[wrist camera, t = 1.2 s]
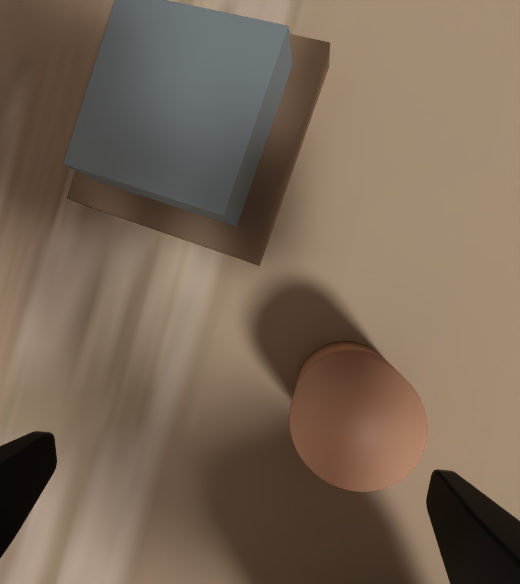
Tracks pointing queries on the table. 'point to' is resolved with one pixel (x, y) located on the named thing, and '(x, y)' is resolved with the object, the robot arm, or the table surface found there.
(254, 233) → the walnut slab
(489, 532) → the robot arm
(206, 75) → the grey slab
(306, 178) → the table surface
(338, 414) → the cherry puck
